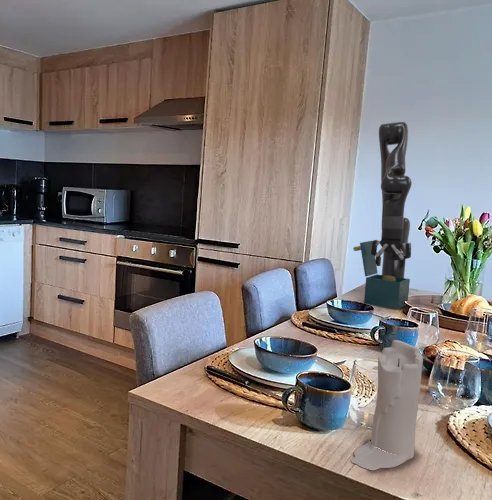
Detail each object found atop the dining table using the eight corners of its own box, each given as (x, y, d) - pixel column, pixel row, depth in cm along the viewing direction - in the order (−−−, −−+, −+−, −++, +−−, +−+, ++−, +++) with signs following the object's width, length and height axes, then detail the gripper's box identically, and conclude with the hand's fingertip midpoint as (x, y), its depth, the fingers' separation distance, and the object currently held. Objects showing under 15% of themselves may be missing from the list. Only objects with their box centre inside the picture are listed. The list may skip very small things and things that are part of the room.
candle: (341, 457, 90) (349, 349, 87) (383, 435, 98) (392, 336, 95) (379, 477, 84) (389, 362, 81) (421, 452, 92) (432, 346, 89)
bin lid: (372, 240, 210) (360, 242, 214) (361, 242, 202) (349, 244, 206) (377, 273, 210) (365, 274, 213) (367, 276, 202) (354, 277, 206)
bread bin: (407, 305, 202) (409, 278, 201) (397, 309, 195) (400, 282, 193) (374, 299, 211) (376, 274, 210) (363, 303, 204) (365, 277, 202)
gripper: (415, 227, 196) (412, 268, 199) (377, 224, 206) (374, 263, 209) (408, 229, 191) (405, 271, 193) (370, 226, 201) (367, 266, 203)
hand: (389, 267), depth 201 cm, fingers open, 8 cm apart
